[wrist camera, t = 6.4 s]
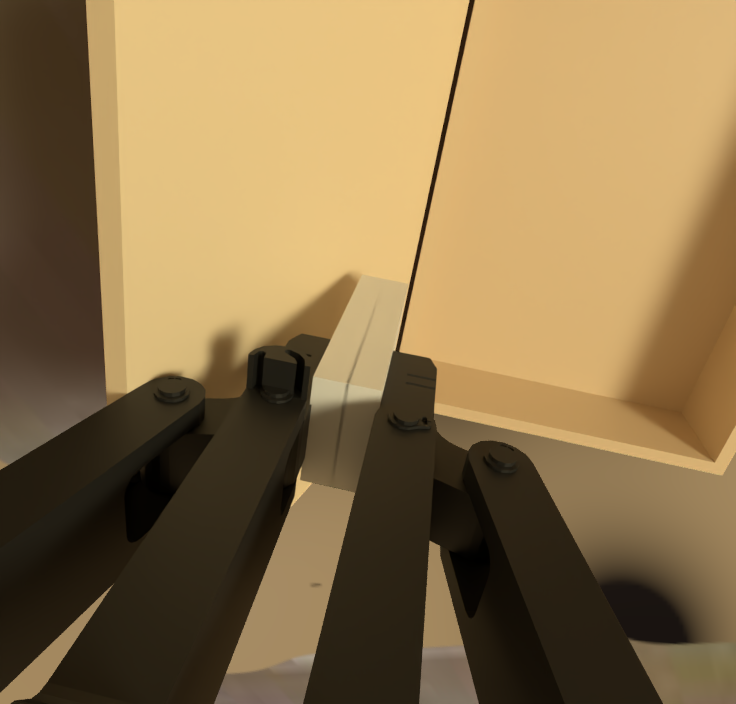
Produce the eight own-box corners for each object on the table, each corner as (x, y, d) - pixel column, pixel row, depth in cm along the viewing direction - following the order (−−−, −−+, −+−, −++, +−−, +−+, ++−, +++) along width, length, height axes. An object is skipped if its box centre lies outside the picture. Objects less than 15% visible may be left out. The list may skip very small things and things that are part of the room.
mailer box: (505, -147, 22) (518, -203, 17) (932, -76, 21) (1059, -116, 17) (397, 358, 32) (388, 405, 28) (683, 419, 31) (721, 477, 27)
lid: (512, -203, 17) (493, -204, 18) (73, -1249, 4) (12, -1206, 4) (384, 401, 28) (373, 397, 28) (136, 680, 14) (118, 668, 14)
